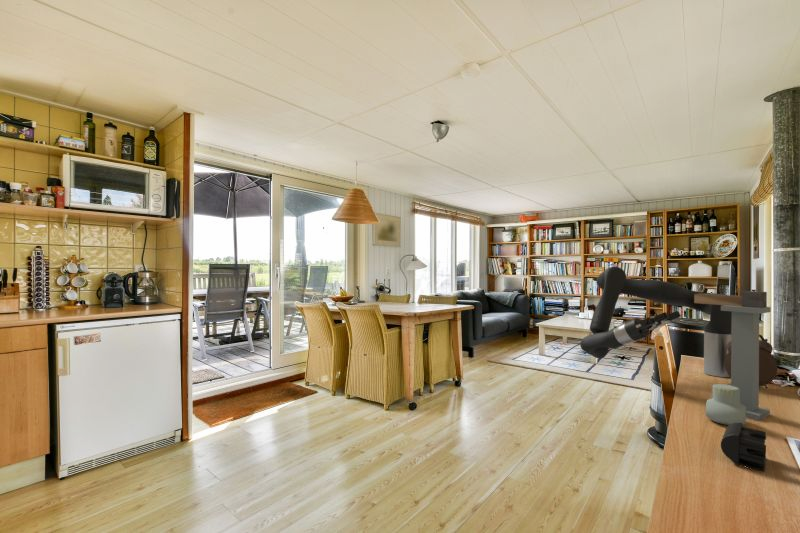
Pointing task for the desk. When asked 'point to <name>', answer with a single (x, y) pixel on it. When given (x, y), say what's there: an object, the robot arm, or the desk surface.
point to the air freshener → (726, 405)
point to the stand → (746, 357)
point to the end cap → (745, 446)
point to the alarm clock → (765, 362)
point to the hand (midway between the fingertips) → (673, 314)
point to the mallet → (734, 299)
